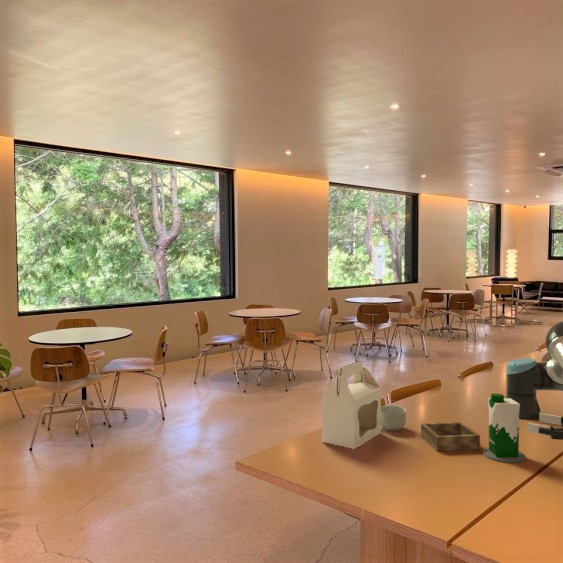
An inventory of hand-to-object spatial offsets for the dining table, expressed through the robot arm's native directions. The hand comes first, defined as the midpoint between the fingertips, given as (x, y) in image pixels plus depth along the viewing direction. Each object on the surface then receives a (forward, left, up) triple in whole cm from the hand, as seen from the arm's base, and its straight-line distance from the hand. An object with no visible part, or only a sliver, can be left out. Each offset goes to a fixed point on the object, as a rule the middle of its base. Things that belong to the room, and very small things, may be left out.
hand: (533, 422), depth 168 cm
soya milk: (+7, -7, -13) cm, 16 cm away
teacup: (+37, -40, -13) cm, 56 cm away
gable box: (+53, -31, -13) cm, 63 cm away
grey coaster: (+7, -7, -13) cm, 16 cm away
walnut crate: (+20, -21, -13) cm, 31 cm away
